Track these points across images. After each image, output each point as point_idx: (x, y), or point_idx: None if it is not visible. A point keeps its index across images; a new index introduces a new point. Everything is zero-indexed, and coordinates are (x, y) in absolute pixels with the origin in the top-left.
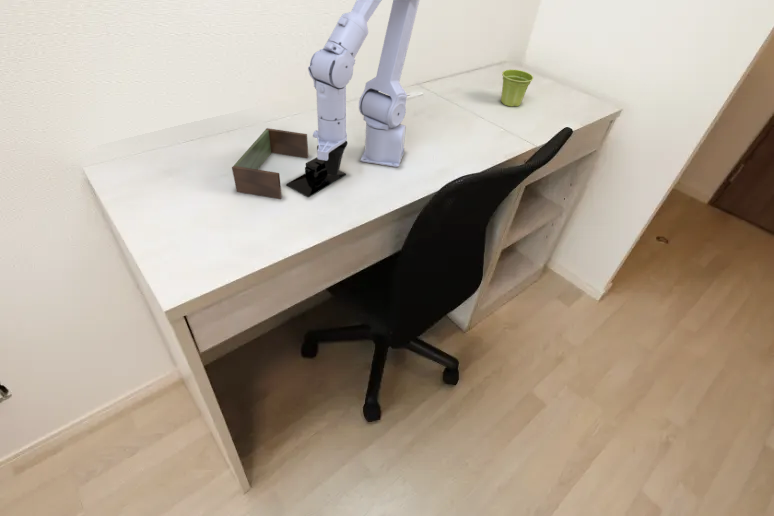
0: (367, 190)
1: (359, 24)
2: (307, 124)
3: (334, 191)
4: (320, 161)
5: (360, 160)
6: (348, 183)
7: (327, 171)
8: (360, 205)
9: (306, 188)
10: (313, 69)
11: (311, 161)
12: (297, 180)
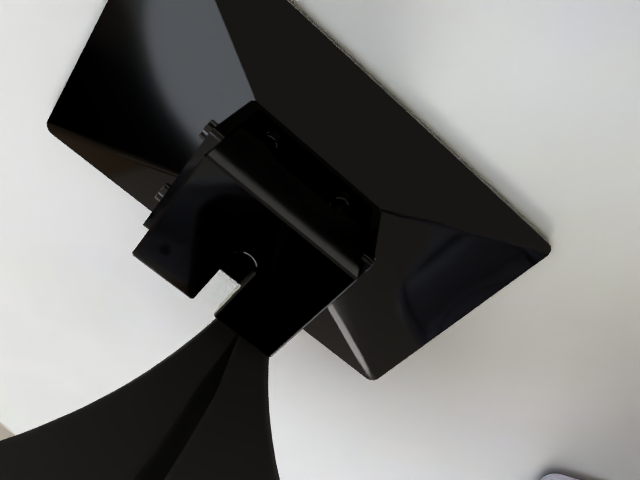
0: None
1: None
2: None
3: (169, 291)
4: (262, 309)
5: (555, 475)
6: (273, 372)
7: (215, 320)
8: (73, 397)
9: (123, 110)
10: None
11: (251, 221)
12: (219, 17)
